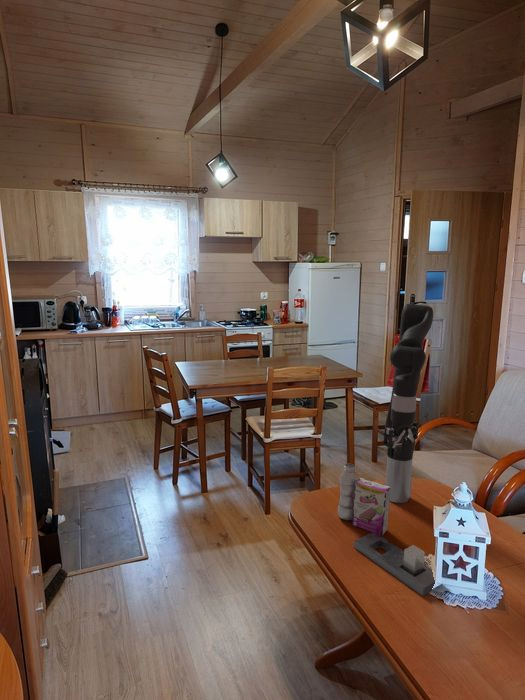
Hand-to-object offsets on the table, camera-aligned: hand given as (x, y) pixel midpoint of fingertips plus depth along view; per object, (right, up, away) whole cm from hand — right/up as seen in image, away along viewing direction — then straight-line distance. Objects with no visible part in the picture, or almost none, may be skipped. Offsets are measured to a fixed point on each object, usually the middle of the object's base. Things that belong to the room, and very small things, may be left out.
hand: (399, 454), depth 151 cm
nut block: (-1, -32, -16) cm, 36 cm away
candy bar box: (-8, -27, +7) cm, 29 cm away
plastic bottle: (-15, -26, +14) cm, 33 cm away
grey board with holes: (-5, -31, -12) cm, 33 cm away
